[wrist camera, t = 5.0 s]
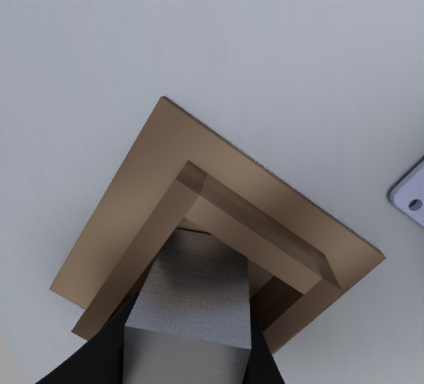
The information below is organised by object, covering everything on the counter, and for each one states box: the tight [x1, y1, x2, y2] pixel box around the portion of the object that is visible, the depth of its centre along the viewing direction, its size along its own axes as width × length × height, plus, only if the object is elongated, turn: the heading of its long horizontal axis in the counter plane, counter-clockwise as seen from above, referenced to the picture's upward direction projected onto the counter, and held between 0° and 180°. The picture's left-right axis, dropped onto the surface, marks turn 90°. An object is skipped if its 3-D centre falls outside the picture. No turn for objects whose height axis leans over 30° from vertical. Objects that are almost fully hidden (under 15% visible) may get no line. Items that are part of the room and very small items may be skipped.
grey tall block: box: [122, 229, 251, 384], centre depth 11 cm, size 4×5×6 cm
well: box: [49, 96, 386, 355], centre depth 13 cm, size 12×12×3 cm
